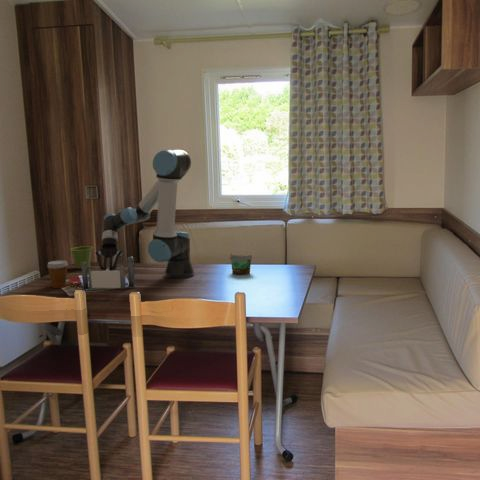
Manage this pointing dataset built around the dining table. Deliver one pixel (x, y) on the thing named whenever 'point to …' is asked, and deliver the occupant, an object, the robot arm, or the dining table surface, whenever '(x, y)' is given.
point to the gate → (107, 278)
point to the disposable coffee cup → (58, 273)
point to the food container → (240, 264)
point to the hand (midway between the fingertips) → (107, 281)
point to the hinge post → (84, 276)
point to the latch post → (131, 272)
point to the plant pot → (81, 255)
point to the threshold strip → (106, 288)
